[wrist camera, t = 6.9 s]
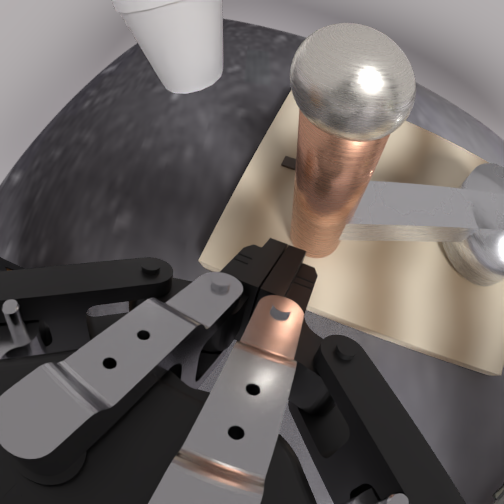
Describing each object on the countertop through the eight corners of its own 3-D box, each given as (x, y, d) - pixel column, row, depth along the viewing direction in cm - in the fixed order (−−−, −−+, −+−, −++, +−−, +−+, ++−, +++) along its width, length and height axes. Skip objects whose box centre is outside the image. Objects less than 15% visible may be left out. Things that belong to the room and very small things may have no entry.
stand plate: (507, 187, 20) (516, 178, 18) (488, 375, 15) (502, 375, 13) (294, 96, 24) (294, 82, 22) (204, 267, 19) (197, 259, 18)
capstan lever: (497, 197, 17) (588, 93, 5) (517, 283, 15) (643, 208, 3) (284, 183, 19) (283, -15, 7) (285, 293, 16) (302, 118, 4)
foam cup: (164, 56, 29) (134, -33, 16) (242, 49, 28) (228, -52, 15) (138, 109, 25) (87, 3, 13) (230, 101, 24) (205, -29, 12)
